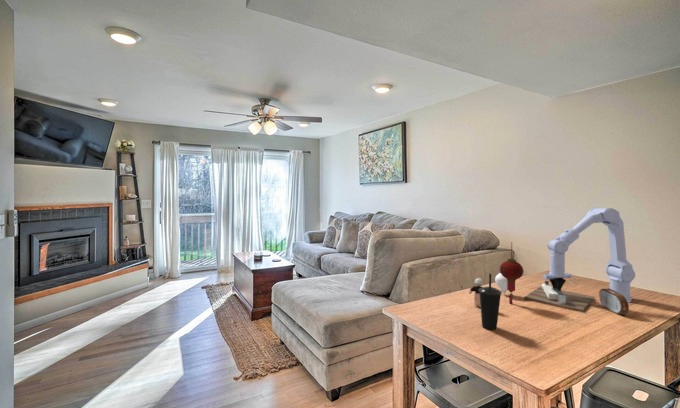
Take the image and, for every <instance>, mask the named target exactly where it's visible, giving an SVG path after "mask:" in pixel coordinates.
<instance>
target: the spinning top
mask: <svg viewBox="0 0 680 408" xmlns="http://www.w3.org/2000/svg"><path fill="white" fill-rule="evenodd" d="M494 279H495V283H496V285H497V287H498V289H499V290H500V291H501V292H502V293H503V295H505V293H506V292H508V290H507V279H506V278H505V277H504V276H502V274H501V273H500V272H499V273H498V274H497V275H496V276H495V278H494Z"/></svg>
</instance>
